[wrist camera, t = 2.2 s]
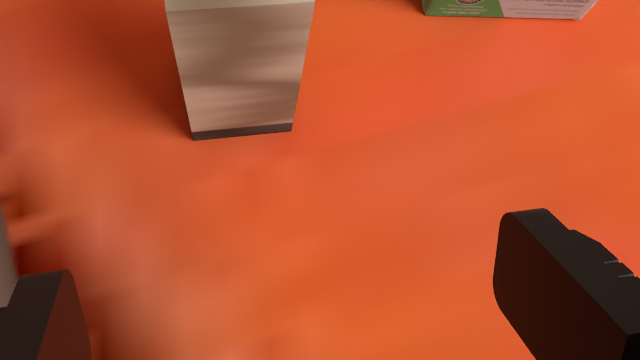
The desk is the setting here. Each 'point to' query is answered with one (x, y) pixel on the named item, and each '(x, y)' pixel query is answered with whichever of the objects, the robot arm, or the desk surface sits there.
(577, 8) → the ink box
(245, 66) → the tall wooden block
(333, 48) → the desk surface
